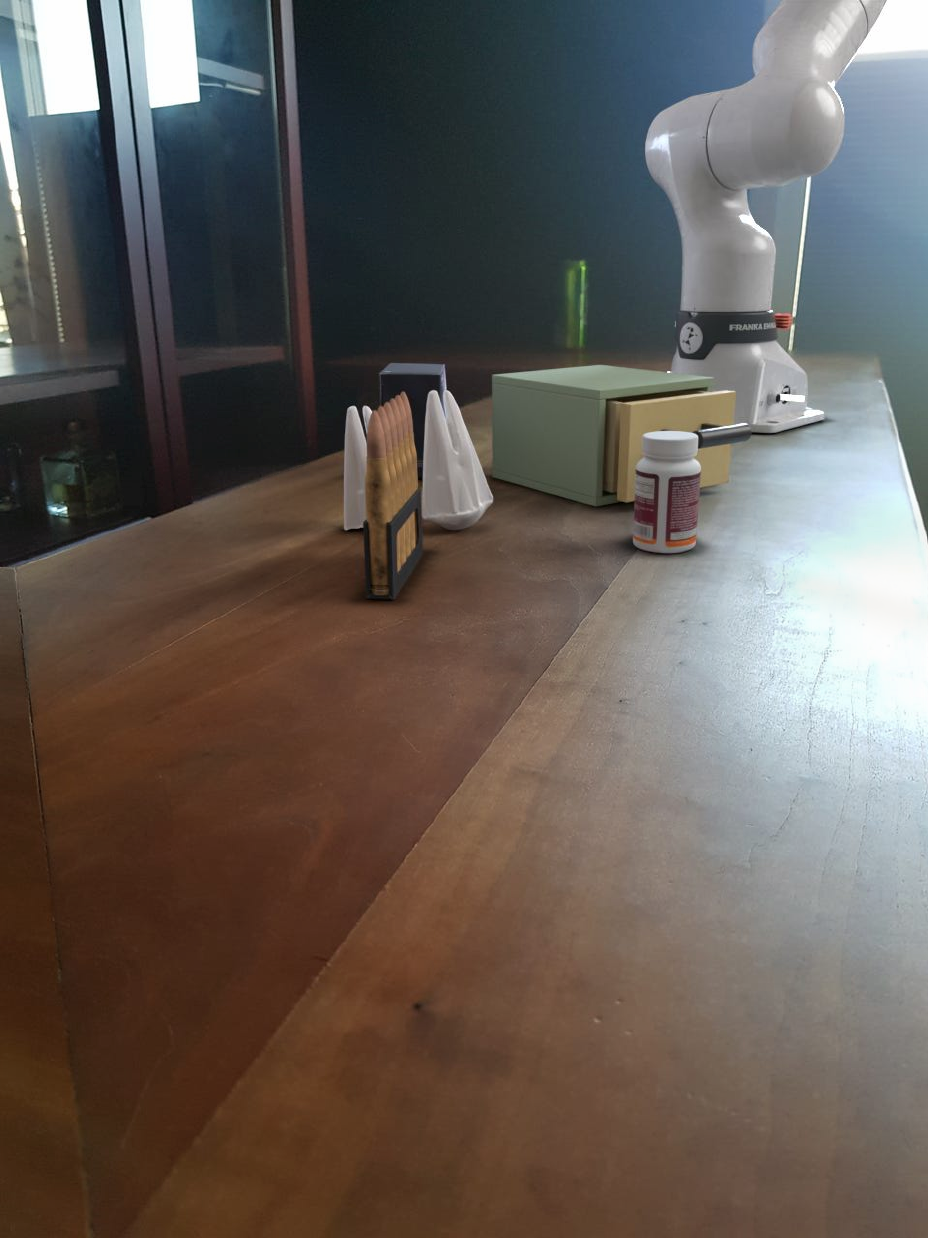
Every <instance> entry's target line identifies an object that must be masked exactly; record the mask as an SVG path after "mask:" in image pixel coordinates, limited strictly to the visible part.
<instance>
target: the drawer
mask: <svg viewBox="0 0 928 1238" xmlns="http://www.w3.org/2000/svg"><path fill="white" fill-rule="evenodd" d="M735 398H736V392H735V391H728V390H724V391H716V392H708V391H700V390H692V389H686V390H678V391H669V392H661V393H652V394H644V395H635V396H627V397H618V398H610V399H605V400H606V407H605V434H604V460H603V486H602V490H604V491H608V492H611V493H614V492H617V500H618V501H622V502H623V503H631V502H635V481H636V466H637V464H638V462H639V461H640V460H642V459H643V458H644V457H645V455H643V454H642V436H643V435H644V434H646V433H649V432H656V431H683V432H690V433H694V434H696V435H698V451H697V455H696V456H694V459H695V460H697V461H698V462H699V464H700V466H701V478H700V489H702V488H707V487H712V486H716V485H717V486H718V485H723V484H727V483H729V480H730V479H729V478H730V467H731V455H732V454H731V453H732V444H736V443H744V442H747V441H749V440H750V439H751V437H752V433H753V432H751V428H750V426H749V425H748V424H745V423H744V424H737V425H733V421H734V409H735Z"/></svg>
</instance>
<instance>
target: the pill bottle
mask: <svg viewBox="0 0 928 1238" xmlns="http://www.w3.org/2000/svg"><path fill="white" fill-rule="evenodd" d="M697 451H698V435H696V434H694V433H690V432H683V431H656V432H649V433H646V434H644V435H643V436H642V454H643V455H645V457H644V458H643V459H642V460H640V461H639V462H638V464H637V466H636V481H635V501H634V507H633V526H632V527H633V529H632V531H633V532H632V543H633V545H634V547H636V548H637V549H640V550H642V551H644V552H645V551H646V552H651V553H658V554H679V553H684V552H687V551H690V550H691V549H693V548H694V547H695V546H696V545H697V543H696V542H697V534H698V533H697V532H698V521H699V505H700V504H699V503H700V490H701V488H700V478H701V466H700V464H699V462H698V461H697V460H695V459H694V456H696V455H697Z"/></svg>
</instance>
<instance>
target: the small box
mask: <svg viewBox="0 0 928 1238" xmlns="http://www.w3.org/2000/svg"><path fill="white" fill-rule="evenodd" d="M378 384H379V385H378V389H379V390H378V392H379V406H382V407H384V404H385V403H386V402H388V403H389V402H390V400H391V399H392V398H393V399H394V400H395V397H396V396H397V395H399V396H400V394H401V392H405V394H406V396H407V398H408V401H409V405H410V409H411V415H412V423H413V434H414V445H415V449H416V454H417V476H418V479H423V460H424V437H425V417H426V405H427V398H428V394H429V392H430V391H432V390H435V391H437V393H438V396H439V399H440V402H441V405H442V409H443V412H444V416H445V419H446V415H445V408H444V401H443V392H444V391H445V390H447V379H446V364H444V363H443V364H440V363H407V362H404V363H403V362H400V363H399V362H390V363H388V365H386V367H384V368H383V369H382V370H381V371H380V372H379V373H378Z"/></svg>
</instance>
